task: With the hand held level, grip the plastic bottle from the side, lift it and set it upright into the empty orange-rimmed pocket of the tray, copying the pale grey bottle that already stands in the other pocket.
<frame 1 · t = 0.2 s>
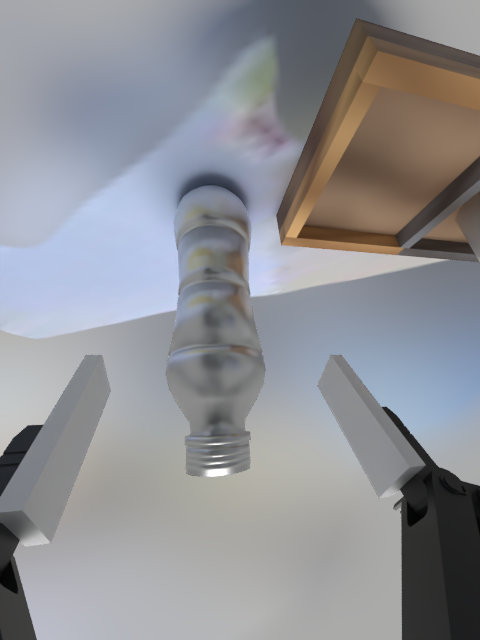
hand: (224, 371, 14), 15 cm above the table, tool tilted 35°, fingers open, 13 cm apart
tray: (439, 172, 19), on the table
plastic bottle: (213, 207, 21), on the table
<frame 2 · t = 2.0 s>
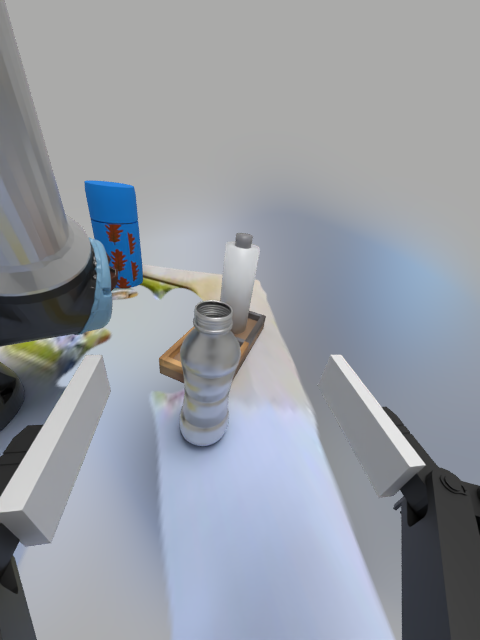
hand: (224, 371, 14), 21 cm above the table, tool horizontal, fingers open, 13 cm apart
tray: (220, 346, 49), on the table
plastic bottle: (203, 430, 33), on the table
thermos: (123, 281, 69), on the table
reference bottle: (231, 325, 53), resting on tray
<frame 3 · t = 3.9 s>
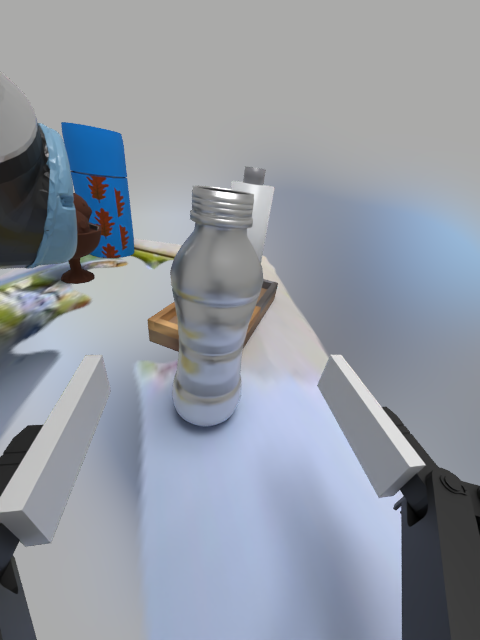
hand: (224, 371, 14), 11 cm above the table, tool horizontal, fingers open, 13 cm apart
tray: (224, 315, 41), on the table
ice cream bowl: (78, 278, 46), on the table
plastic bottle: (206, 408, 24), on the table
thermos: (112, 252, 61), on the table
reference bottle: (238, 293, 44), resting on tray
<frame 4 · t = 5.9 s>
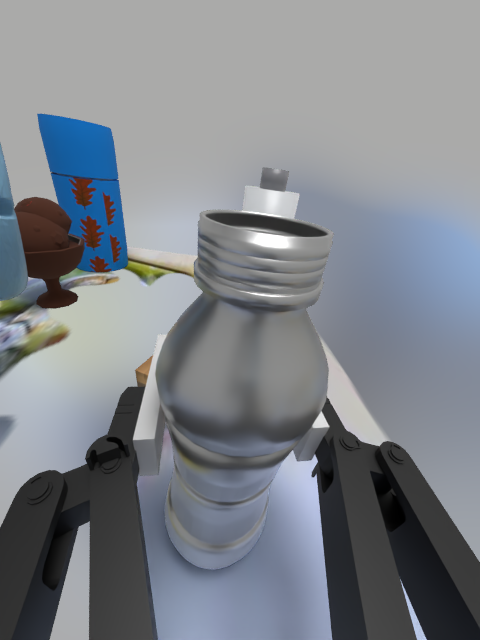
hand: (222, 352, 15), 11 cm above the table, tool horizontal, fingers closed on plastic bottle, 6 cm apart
ice cream bowl: (58, 301, 38), on the table
plastic bottle: (214, 515, 17), on the table, touching gripper
thermos: (102, 264, 53), on the table
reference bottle: (249, 319, 37), resting on tray
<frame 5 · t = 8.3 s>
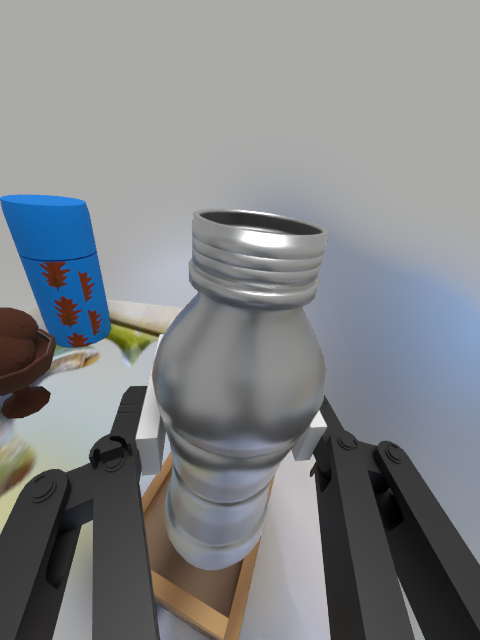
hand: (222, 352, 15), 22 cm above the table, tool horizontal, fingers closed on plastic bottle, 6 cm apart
tray: (222, 470, 30), on the table
ice cream bowl: (27, 403, 34), on the table
plastic bottle: (214, 516, 17), point 11 cm above the table, touching gripper
thermos: (83, 332, 49), on the table
when the fingers open (14 cm above the table, at t = 10.6 s): plastic bottle drops 1 cm, resting on tray.
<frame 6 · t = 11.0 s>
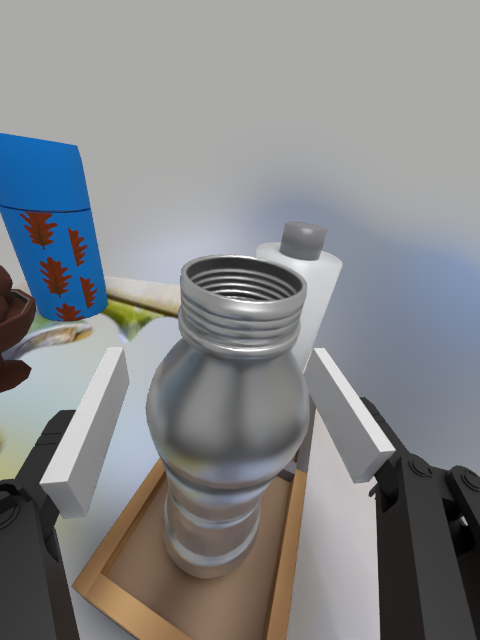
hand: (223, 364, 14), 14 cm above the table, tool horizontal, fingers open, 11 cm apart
tray: (238, 463, 23), on the table
ice cream bowl: (2, 378, 28), on the table
plastic bottle: (210, 524, 18), point 2 cm above the table, touching tray
thermos: (76, 307, 44), on the table
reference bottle: (258, 407, 27), resting on tray
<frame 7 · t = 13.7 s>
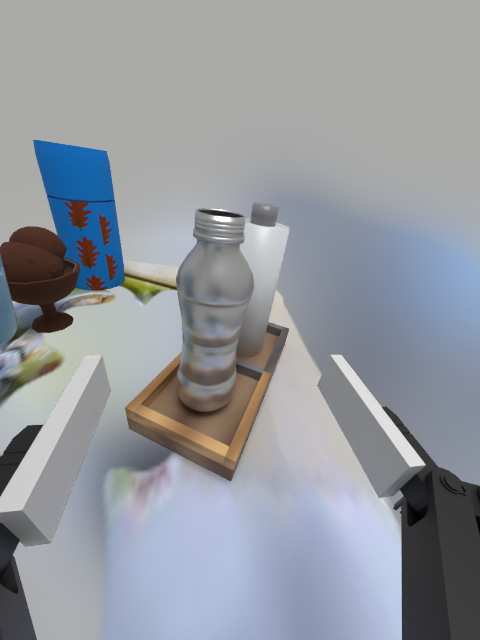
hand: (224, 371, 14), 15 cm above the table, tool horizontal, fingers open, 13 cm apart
tray: (226, 376, 33), on the table
ice cream bowl: (53, 324, 39), on the table
plastic bottle: (205, 397, 28), point 2 cm above the table, touching tray
thermos: (99, 281, 54), on the table
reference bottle: (242, 343, 37), resting on tray
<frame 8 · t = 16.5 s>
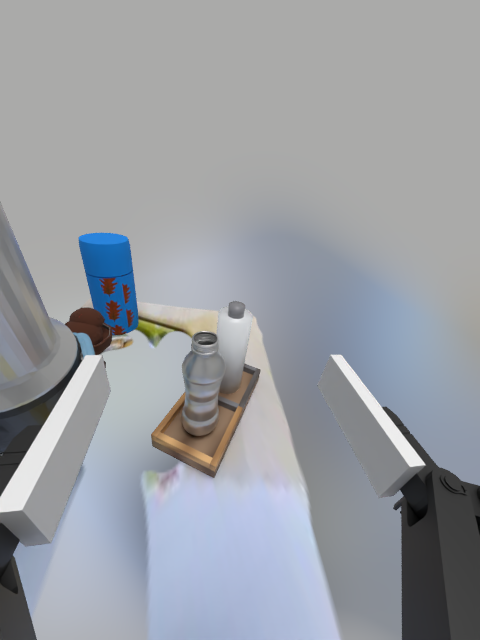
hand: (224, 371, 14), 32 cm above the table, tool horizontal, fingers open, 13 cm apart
tray: (214, 407, 49), on the table
ice cream bowl: (92, 368, 54), on the table
plastic bottle: (199, 425, 43), point 2 cm above the table, touching tray
thermos: (119, 325, 69), on the table
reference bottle: (226, 382, 53), resting on tray
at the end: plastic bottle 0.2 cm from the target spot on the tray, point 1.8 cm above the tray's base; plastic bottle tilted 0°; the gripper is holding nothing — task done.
